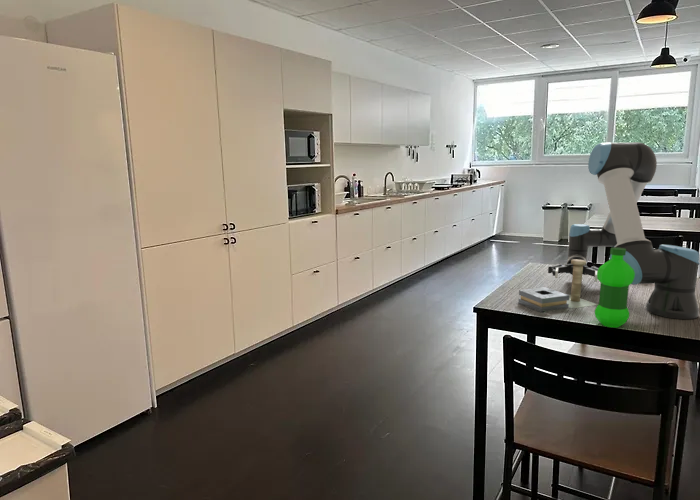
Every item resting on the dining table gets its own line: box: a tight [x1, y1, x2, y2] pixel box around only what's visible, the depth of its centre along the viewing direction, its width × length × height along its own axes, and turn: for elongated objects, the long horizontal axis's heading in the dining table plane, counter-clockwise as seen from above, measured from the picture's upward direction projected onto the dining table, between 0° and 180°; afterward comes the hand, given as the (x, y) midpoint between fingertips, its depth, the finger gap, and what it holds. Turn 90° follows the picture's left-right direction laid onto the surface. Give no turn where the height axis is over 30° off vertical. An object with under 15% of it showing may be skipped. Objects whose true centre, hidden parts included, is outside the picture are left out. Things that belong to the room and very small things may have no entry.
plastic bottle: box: [594, 246, 635, 329], centre depth 153 cm, size 10×10×25 cm
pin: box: [570, 259, 586, 302], centre depth 179 cm, size 5×5×15 cm
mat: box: [567, 294, 599, 309], centre depth 180 cm, size 14×12×1 cm
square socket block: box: [517, 286, 570, 313], centre depth 175 cm, size 12×12×5 cm
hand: (576, 276), depth 180 cm, fingers open, 13 cm apart
